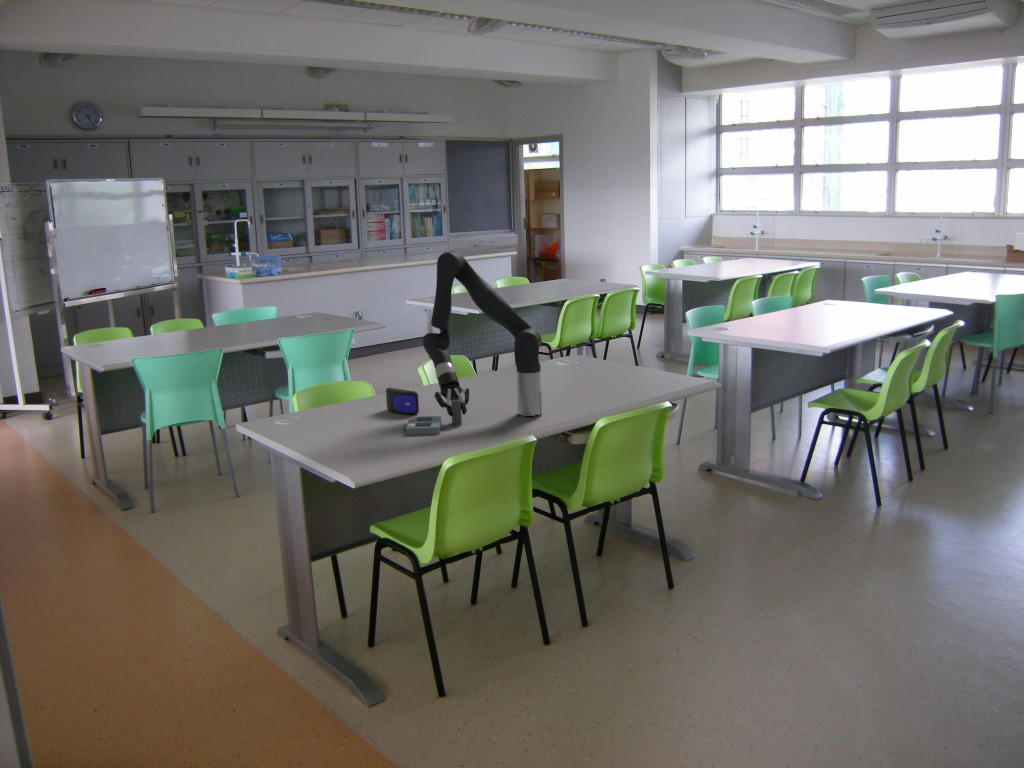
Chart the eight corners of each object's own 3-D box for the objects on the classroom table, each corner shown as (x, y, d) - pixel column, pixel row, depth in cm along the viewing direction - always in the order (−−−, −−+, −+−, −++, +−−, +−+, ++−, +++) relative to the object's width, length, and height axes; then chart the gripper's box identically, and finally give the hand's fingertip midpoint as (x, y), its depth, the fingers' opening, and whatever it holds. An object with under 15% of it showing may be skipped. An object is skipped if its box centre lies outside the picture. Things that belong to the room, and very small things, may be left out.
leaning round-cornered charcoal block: (381, 411, 336) (380, 389, 334) (389, 409, 340) (387, 386, 338) (412, 417, 328) (411, 393, 325) (420, 414, 331) (418, 391, 329)
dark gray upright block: (461, 422, 318) (460, 399, 316) (461, 424, 315) (460, 401, 312) (452, 422, 318) (451, 399, 316) (452, 425, 314) (451, 401, 312)
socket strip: (441, 422, 319) (441, 415, 318) (439, 433, 303) (439, 426, 303) (409, 423, 318) (409, 416, 318) (406, 435, 303) (405, 427, 302)
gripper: (430, 373, 316) (441, 411, 308) (466, 369, 321) (478, 406, 313) (427, 384, 322) (438, 422, 314) (462, 380, 327) (474, 417, 319)
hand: (458, 414), depth 314 cm, fingers closed on dark gray upright block, 4 cm apart
